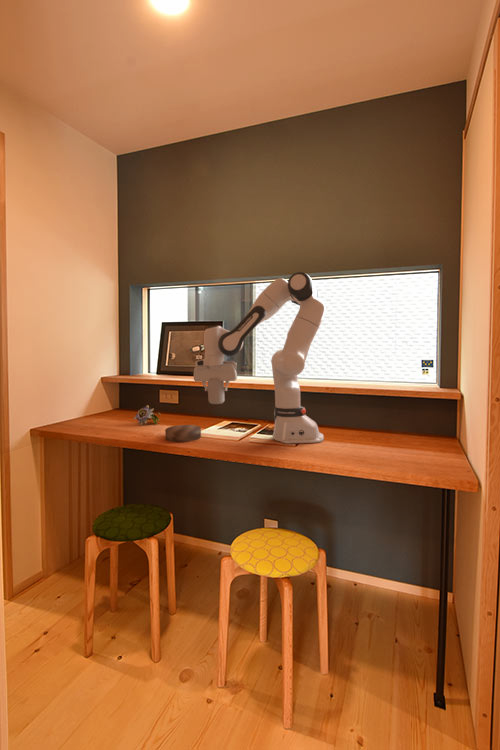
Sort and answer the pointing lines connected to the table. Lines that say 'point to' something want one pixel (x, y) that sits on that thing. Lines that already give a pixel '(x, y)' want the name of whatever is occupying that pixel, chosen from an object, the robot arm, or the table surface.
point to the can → (215, 391)
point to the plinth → (183, 433)
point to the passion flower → (146, 415)
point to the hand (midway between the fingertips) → (216, 390)
